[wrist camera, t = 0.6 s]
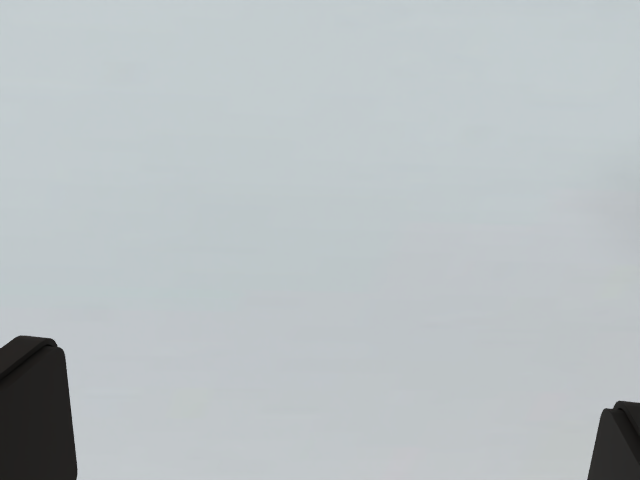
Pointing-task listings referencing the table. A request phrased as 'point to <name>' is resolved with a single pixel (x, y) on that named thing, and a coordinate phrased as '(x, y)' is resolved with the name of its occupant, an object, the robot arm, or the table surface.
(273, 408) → the table surface
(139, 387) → the table surface
